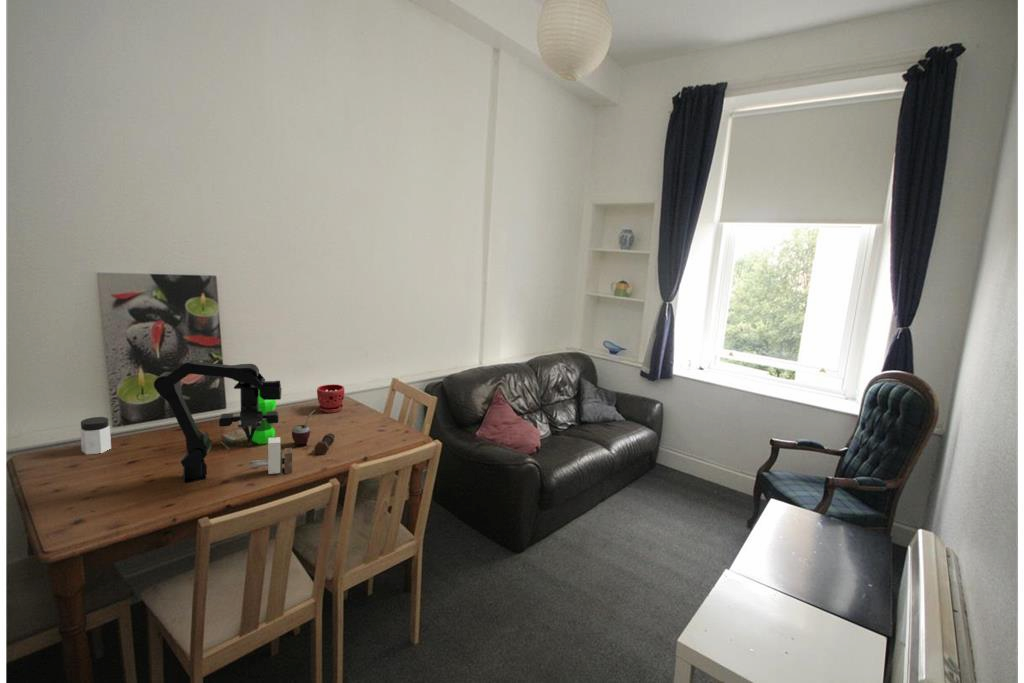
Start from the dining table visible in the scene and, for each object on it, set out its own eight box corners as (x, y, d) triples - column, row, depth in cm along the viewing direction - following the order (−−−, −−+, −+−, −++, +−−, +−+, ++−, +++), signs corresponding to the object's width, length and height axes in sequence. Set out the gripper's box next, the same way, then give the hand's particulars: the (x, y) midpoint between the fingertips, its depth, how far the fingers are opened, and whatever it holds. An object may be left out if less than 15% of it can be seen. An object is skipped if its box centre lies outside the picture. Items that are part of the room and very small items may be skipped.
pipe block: (276, 474, 189) (276, 454, 187) (276, 468, 193) (276, 449, 192) (292, 473, 191) (292, 453, 190) (291, 467, 196) (291, 447, 194)
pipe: (250, 469, 186) (250, 462, 185) (250, 465, 188) (250, 459, 188) (286, 465, 191) (286, 459, 190) (285, 462, 193) (285, 456, 193)
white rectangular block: (268, 474, 188) (268, 443, 185) (268, 468, 192) (268, 437, 190) (282, 472, 189) (282, 442, 187) (281, 466, 194) (281, 436, 192)
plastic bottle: (244, 445, 210) (243, 387, 206) (256, 436, 221) (255, 380, 216) (269, 447, 211) (268, 389, 206) (279, 438, 221) (279, 382, 216)
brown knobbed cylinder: (332, 444, 224) (322, 457, 209) (322, 438, 223) (312, 451, 209) (339, 433, 224) (330, 446, 209) (329, 427, 223) (319, 439, 208)
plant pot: (338, 404, 270) (338, 382, 268) (348, 411, 260) (348, 389, 258) (312, 407, 262) (313, 385, 259) (322, 415, 252) (322, 392, 250)
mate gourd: (288, 446, 214) (288, 412, 211) (300, 439, 221) (301, 406, 219) (302, 449, 212) (303, 415, 209) (315, 443, 219) (316, 409, 217)
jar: (78, 455, 190) (76, 425, 188) (84, 447, 197) (82, 417, 195) (108, 453, 194) (106, 423, 192) (113, 445, 201) (112, 416, 199)
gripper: (217, 408, 171) (218, 452, 174) (278, 405, 179) (278, 447, 182) (220, 398, 181) (221, 439, 184) (278, 395, 189) (278, 435, 192)
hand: (250, 440), depth 185 cm, fingers closed
